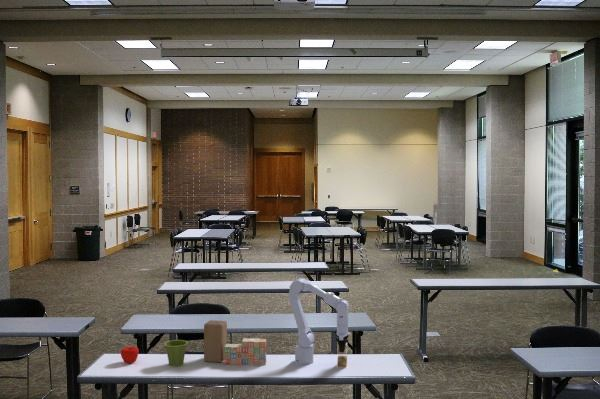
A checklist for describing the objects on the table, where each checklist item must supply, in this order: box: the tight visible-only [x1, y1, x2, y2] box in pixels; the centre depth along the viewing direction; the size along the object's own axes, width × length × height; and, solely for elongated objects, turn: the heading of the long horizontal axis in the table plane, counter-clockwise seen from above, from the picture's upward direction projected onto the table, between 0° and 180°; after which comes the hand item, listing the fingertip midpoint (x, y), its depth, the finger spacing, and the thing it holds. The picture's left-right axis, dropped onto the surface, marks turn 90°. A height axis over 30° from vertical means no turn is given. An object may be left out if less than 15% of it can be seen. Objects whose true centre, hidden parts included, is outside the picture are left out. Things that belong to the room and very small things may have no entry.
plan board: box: [335, 362, 350, 369], centre depth 290 cm, size 14×16×1 cm
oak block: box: [337, 354, 348, 368], centre depth 293 cm, size 4×4×4 cm
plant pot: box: [164, 339, 189, 367], centre depth 296 cm, size 12×12×11 cm
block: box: [203, 319, 228, 363], centre depth 304 cm, size 10×10×20 cm
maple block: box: [337, 342, 348, 355], centre depth 293 cm, size 4×4×4 cm
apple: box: [120, 346, 139, 364], centre depth 299 cm, size 9×9×8 cm
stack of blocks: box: [224, 337, 267, 366], centre depth 299 cm, size 21×6×12 cm, turn 89°
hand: (342, 350), depth 293 cm, fingers closed on maple block, 4 cm apart
